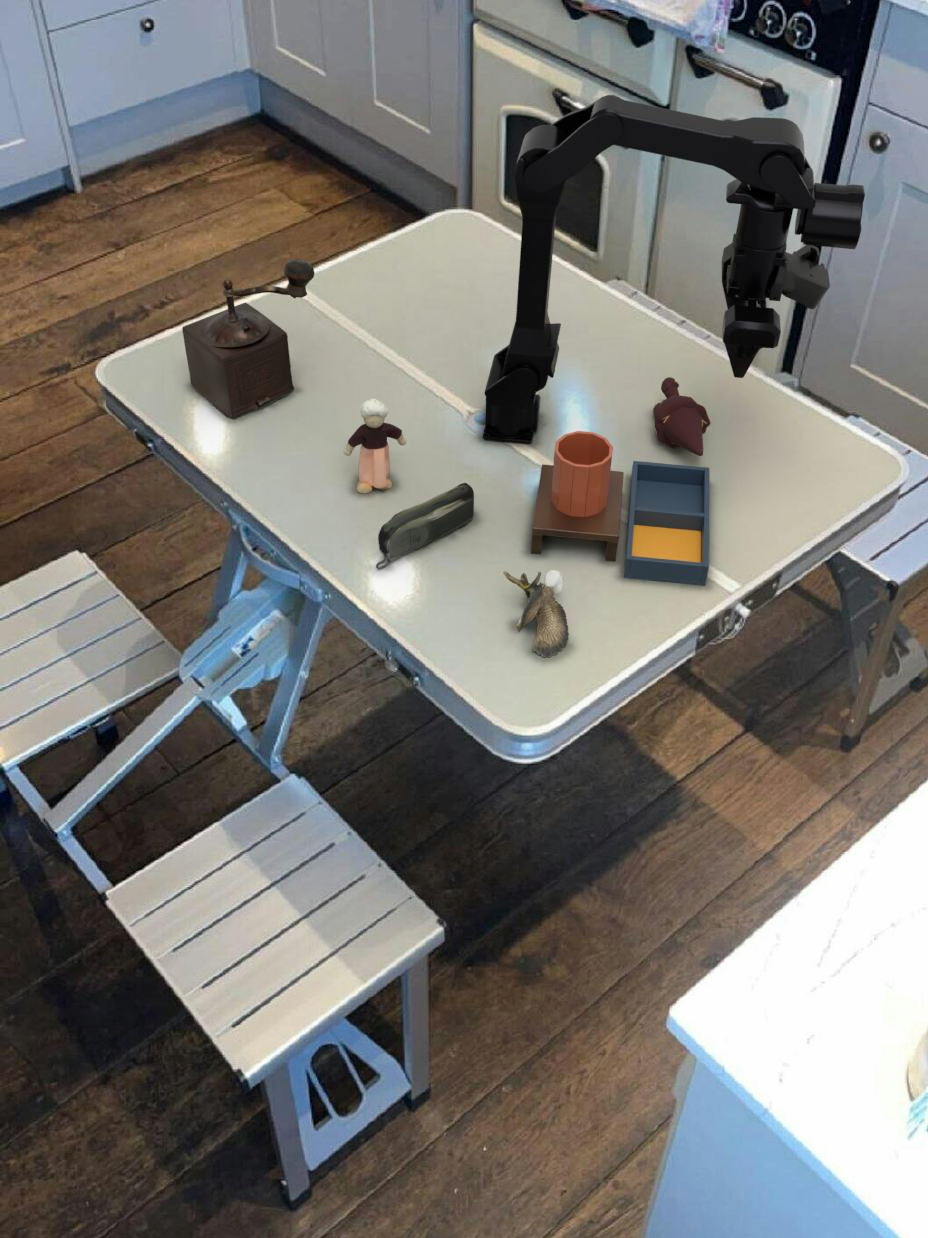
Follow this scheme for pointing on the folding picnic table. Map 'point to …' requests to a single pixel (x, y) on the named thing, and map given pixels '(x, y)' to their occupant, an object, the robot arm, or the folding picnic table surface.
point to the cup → (581, 473)
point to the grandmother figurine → (374, 446)
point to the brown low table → (577, 527)
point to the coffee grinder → (243, 349)
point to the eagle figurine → (544, 612)
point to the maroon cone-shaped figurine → (680, 419)
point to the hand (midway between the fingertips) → (738, 355)
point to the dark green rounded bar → (425, 522)
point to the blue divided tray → (668, 523)
